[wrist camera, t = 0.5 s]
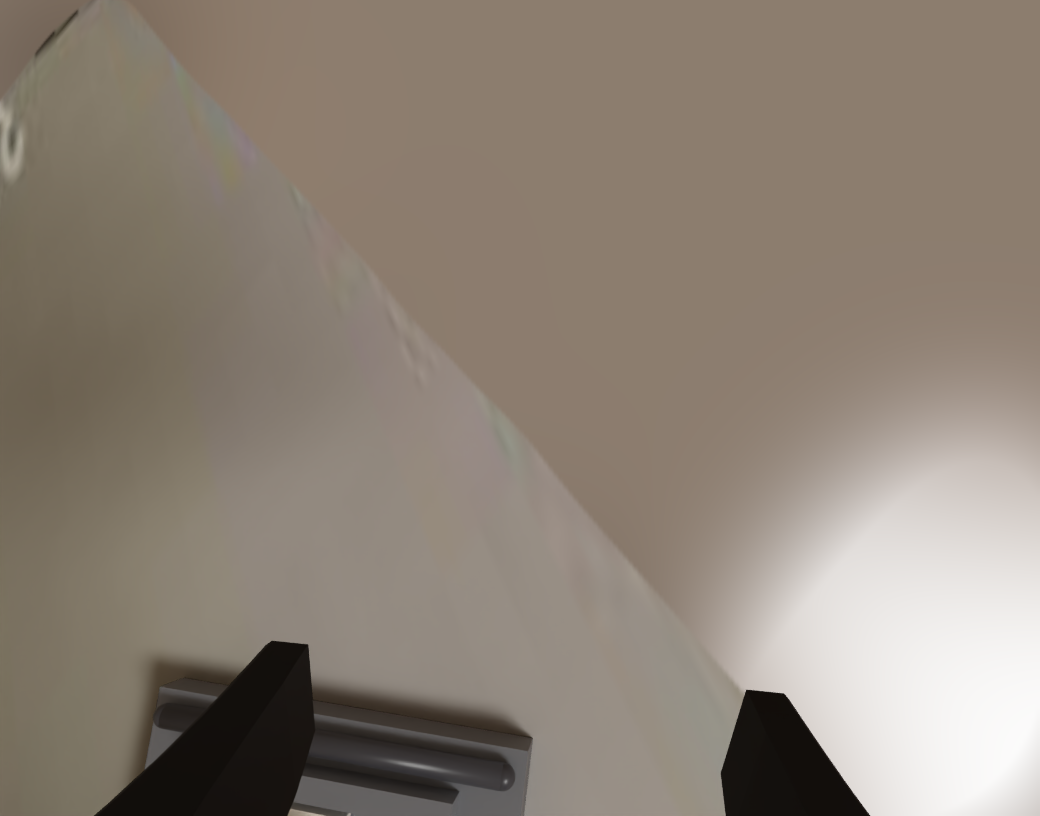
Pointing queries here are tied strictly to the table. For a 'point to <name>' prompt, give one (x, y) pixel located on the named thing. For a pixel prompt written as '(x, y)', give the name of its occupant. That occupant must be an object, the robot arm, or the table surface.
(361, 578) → the table surface
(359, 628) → the table surface
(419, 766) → the grey slider panel
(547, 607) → the table surface
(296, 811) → the breaker toggle
